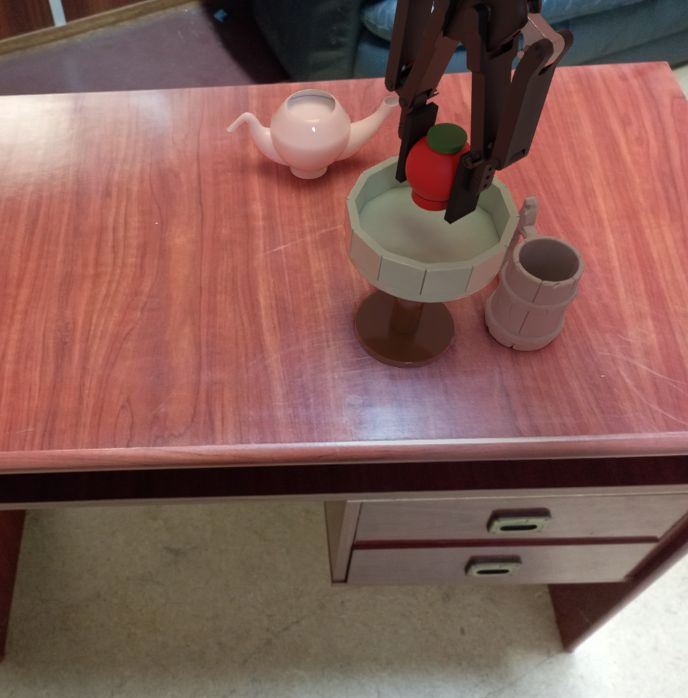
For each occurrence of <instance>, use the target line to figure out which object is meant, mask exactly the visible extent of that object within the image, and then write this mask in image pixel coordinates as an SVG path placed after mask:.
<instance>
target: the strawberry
mask: <svg viewBox="0 0 688 698" xmlns="http://www.w3.org/2000/svg"><path fill="white" fill-rule="evenodd" d="M469 150H470V142H468V132H467V131H466V130H465V129H464V128H463V127H462V126H460V125H458V124H455V123H451V122H441V123H437V124H436V123H435V125H434V126H432V127H431V128H430V129H429V130H428V133H427V135H426V136H425V137H423V138H421V139H420V140H419V141H418V142H417V143H416V144H415V145H414V146H413V147H412V149H411V150H410V152H409V154H408V157H407V160H406V166H405V172H406V177H407V181H408V183H409V185H410V187H411V188H412V193H411V196H412V200H413V201H414V203H415V204H416V205H417V206H419V207H420V208H422V209H425V210H428V211H442V210H446V208H447V204H448V200H449V196H450V192H451V188H452V185H453V181H454V177H455V173H456V169H457V165H458V161H459V157H460V155H462V154H464V153H465V152H467V151H469Z"/></svg>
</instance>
